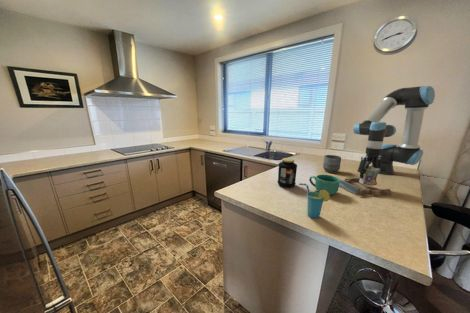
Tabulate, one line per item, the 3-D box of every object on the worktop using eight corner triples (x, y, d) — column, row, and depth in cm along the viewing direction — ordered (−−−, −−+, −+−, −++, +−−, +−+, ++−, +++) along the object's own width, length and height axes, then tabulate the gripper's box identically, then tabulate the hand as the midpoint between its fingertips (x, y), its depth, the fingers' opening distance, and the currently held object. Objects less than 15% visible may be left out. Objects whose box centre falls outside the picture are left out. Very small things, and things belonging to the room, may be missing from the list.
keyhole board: (359, 181, 129) (360, 175, 128) (389, 194, 108) (391, 187, 107) (333, 183, 124) (334, 177, 123) (360, 197, 104) (361, 190, 103)
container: (299, 184, 122) (300, 158, 118) (290, 190, 113) (292, 162, 109) (282, 180, 130) (283, 156, 126) (273, 185, 121) (274, 159, 117)
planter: (339, 170, 152) (341, 156, 149) (338, 174, 142) (340, 159, 139) (323, 168, 158) (325, 154, 155) (321, 172, 148) (323, 157, 145)
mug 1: (340, 192, 111) (342, 177, 108) (333, 199, 102) (336, 183, 100) (312, 185, 122) (314, 171, 120) (304, 190, 113) (306, 176, 111)
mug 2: (380, 187, 110) (383, 171, 107) (362, 185, 113) (364, 169, 110) (373, 180, 121) (376, 165, 118) (356, 179, 124) (359, 164, 121)
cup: (293, 213, 87) (296, 184, 84) (298, 207, 93) (301, 179, 90) (325, 224, 79) (330, 192, 76) (328, 216, 85) (333, 186, 82)
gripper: (381, 145, 117) (375, 179, 122) (354, 147, 113) (348, 181, 118) (393, 148, 110) (386, 183, 115) (365, 149, 105) (358, 185, 111)
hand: (367, 182), depth 117 cm, fingers closed on mug 2, 8 cm apart
